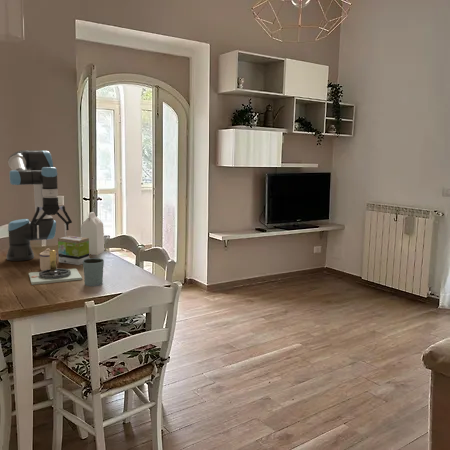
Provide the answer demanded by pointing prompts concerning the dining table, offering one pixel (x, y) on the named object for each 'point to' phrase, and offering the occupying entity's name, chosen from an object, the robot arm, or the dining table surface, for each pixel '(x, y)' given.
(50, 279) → the board
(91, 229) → the milk
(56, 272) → the handwheel
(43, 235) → the robot arm
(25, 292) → the dining table surface
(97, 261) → the grey blue cup
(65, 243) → the tea box
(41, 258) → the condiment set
